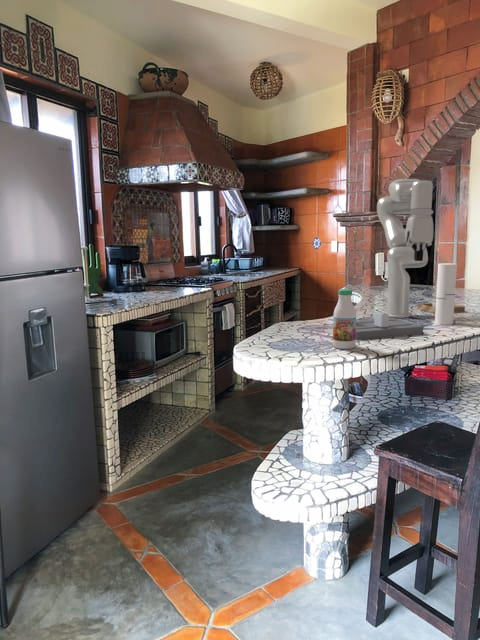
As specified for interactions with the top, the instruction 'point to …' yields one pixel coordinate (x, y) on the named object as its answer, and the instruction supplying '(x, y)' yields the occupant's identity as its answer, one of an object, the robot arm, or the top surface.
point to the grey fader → (381, 319)
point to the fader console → (386, 329)
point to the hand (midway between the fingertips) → (418, 260)
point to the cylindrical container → (445, 293)
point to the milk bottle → (344, 321)
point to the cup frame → (432, 309)
